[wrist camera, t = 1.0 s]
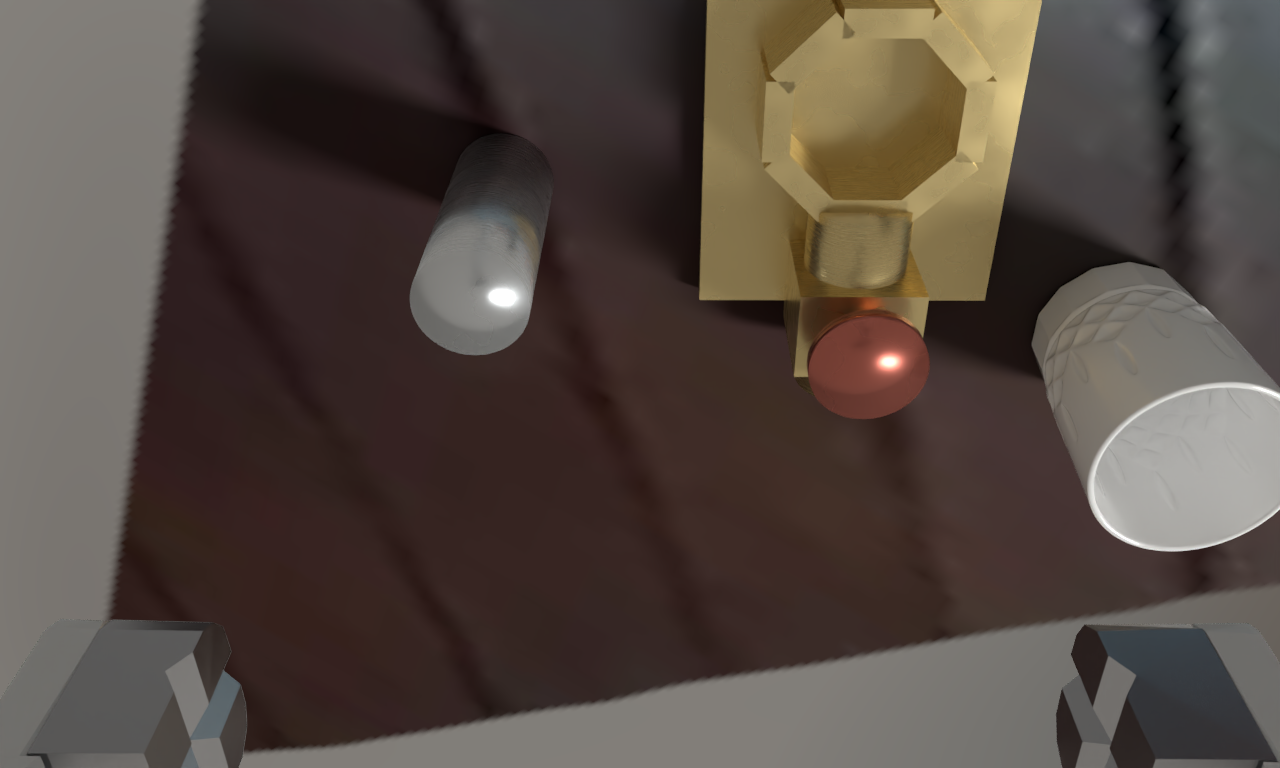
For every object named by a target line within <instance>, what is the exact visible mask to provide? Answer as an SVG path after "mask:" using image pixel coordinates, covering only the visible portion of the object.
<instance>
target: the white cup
mask: <svg viewBox="0 0 1280 768" xmlns="http://www.w3.org/2000/svg"><path fill="white" fill-rule="evenodd" d="M1031 345H1032V348H1033V351H1034V354H1035V357H1036V360H1037V363H1038V366H1039V369H1040V372H1041V375H1042V377H1043V379H1044V382H1045V385H1046V395H1047V397H1048V400H1049V402H1050V405H1051V407H1052V411H1053V415H1054V417H1055V420H1056V422H1057V425H1058V427H1059V430H1060V432H1061V435H1062V437H1063V440H1064V442H1065V445H1066V447H1067V450H1068V452H1069V455H1070V457H1071V460H1072V462H1073V465H1074V467H1075V470H1076V472H1077V475H1078V477H1079V480H1080V482H1081V485H1082V487H1083V490H1084V492H1085V495H1086V497H1087V500H1088V502H1089V505H1090V508H1091V510H1092V512H1093V514H1094V516H1095V517H1096V519H1097V520H1098V522H1099V523H1100V524H1101V525H1102V526H1103V527H1104V528H1105V529H1106V530H1107V531H1108V532H1109V533H1111V534H1112V535H1113V536H1115V537H1116V538H1118V539H1120V540H1122V541H1124V542H1126V543H1128V544H1131V545H1134V546H1137V547H1141V548H1145V549H1150V550H1157V551H1187V550H1194V549H1200V548H1205V547H1209V546H1213V545H1217V544H1220V543H1223V542H1226V541H1229V540H1231V539H1234V538H1236V537H1238V536H1240V535H1242V534H1244V533H1246V532H1248V531H1250V530H1252V529H1254V528H1255V527H1257V526H1259V525H1260V524H1262V523H1263V522H1265V521H1266V520H1267V519H1269V518H1270V517H1271V516H1273V515H1274V514H1275V513H1276V512H1277V511H1279V510H1280V387H1279V386H1278V385H1277V384H1276V383H1275V381H1274V380H1273V379H1272V378H1271V377H1270V376H1269V375H1268V374H1267V373H1266V372H1265V370H1264V369H1263V368H1262V367H1261V366H1260V365H1259V364H1258V363H1257V362H1256V360H1255V359H1254V358H1253V357H1252V356H1251V355H1250V354H1249V353H1248V352H1247V350H1246V349H1245V348H1244V347H1243V346H1242V345H1241V344H1240V343H1239V342H1238V340H1237V339H1236V338H1235V337H1234V336H1233V335H1232V334H1231V333H1230V332H1229V331H1228V330H1227V329H1226V328H1225V327H1224V326H1223V324H1221V323H1220V322H1219V321H1218V320H1217V319H1216V318H1215V317H1214V316H1213V315H1212V314H1211V313H1210V312H1209V311H1208V310H1207V309H1206V308H1205V307H1204V306H1202V305H1200V304H1198V303H1197V302H1196V301H1195V299H1194V298H1193V297H1192V296H1191V295H1190V294H1189V293H1188V292H1187V290H1186V289H1184V288H1183V287H1182V286H1181V285H1180V284H1179V283H1178V282H1177V281H1176V280H1174V279H1173V278H1172V277H1171V276H1170V275H1169V274H1168V273H1167V272H1166V271H1164V270H1163V269H1160V268H1155V267H1151V266H1146V265H1142V264H1137V263H1133V262H1125V263H1120V264H1114V265H1108V266H1103V267H1097V268H1093V269H1091V270H1089V271H1087V272H1085V273H1084V274H1082V275H1080V276H1079V277H1077V278H1075V279H1074V280H1072V281H1070V282H1068V283H1067V284H1065V285H1063V286H1062V287H1060V288H1059V289H1058V291H1057V292H1056V293H1055V294H1054V296H1053V297H1052V298H1051V299H1050V301H1049V302H1048V303H1047V304H1046V306H1045V307H1044V308H1043V309H1042V311H1041V312H1040V313H1039V314H1038V318H1037V322H1036V326H1035V331H1034V335H1033V339H1032V344H1031Z"/></svg>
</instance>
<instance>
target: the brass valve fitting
mask: <svg viewBox="0 0 1280 768" xmlns="http://www.w3.org/2000/svg"><path fill="white" fill-rule="evenodd" d="M1041 2H1042V0H706V28H705V66H704V105H703V143H702V181H701V220H700V258H699V300H784V309H783V316H784V322H785V328H786V334H787V340H788V345H789V351H790V357H791V363H792V368H793V374H794V377H795V379H796V381H797V383H798V384H799V385H800V387H802V388H803V389H804V390H805V391H806V392H808V393H809V394H811V395H813V396H815V397H816V398H817V399H818V401H819V402H820V403H821V404H822V405H823V406H825V407H826V408H827V409H829V410H830V411H832V412H834V413H836V414H839V415H841V416H844V417H848V418H854V419H872V418H878V417H882V416H886V415H888V414H891V413H894V412H896V411H898V410H900V409H901V408H903V407H904V406H906V405H907V404H908V403H910V402H911V401H912V400H913V399H914V398H915V397H916V396H917V395H918V394H919V392H920V391H921V390H922V388H923V386H924V384H925V382H926V380H927V377H928V373H929V366H930V362H929V355H928V351H927V348H926V345H925V343H924V340H923V334H924V328H925V322H926V315H927V309H928V303H929V301H985V297H986V291H987V286H988V281H989V276H990V270H991V265H992V260H993V255H994V249H995V244H996V239H997V234H998V228H999V223H1000V218H1001V213H1002V207H1003V202H1004V197H1005V192H1006V186H1007V181H1008V176H1009V171H1010V165H1011V160H1012V155H1013V150H1014V144H1015V139H1016V134H1017V129H1018V123H1019V118H1020V113H1021V108H1022V102H1023V97H1024V92H1025V87H1026V81H1027V76H1028V71H1029V66H1030V60H1031V55H1032V50H1033V44H1034V39H1035V34H1036V29H1037V23H1038V18H1039V13H1040V8H1041Z"/></svg>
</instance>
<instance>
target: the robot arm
mask: <svg viewBox="0 0 1280 768" xmlns="http://www.w3.org/2000/svg"><path fill="white" fill-rule="evenodd" d="M230 653H231V649H230V646H229V643H228V640H227V637H226V634H225V631H224V628H223V626H221V625H218V624H215V623H211V622H175V621H139V620H111V621H97V620H96V621H95V620H67V619H66V620H64V619H60V620H59V621H57V622H56V623H54V624H53V625H51V626H50V627H48V628H47V629H46V630H45V631H44V632H43V634H42V635H41V637H40V639H39V640H38V641H37V643H36V645H35V646H34V648H33V649H32V651H31V652H30V654H29V656H28V657H27V659H26V660H25V662H24V663H23V665H22V666H21V668H20V669H19V671H18V672H17V674H16V676H15V677H14V679H13V680H12V682H11V683H10V685H9V686H8V688H7V690H6V691H5V693H4V694H3V696H2V697H1V699H0V768H239V765H240V762H241V759H242V757H243V750H244V743H245V737H246V730H247V717H246V703H245V699H244V695H243V691H242V688H241V685H240V684H239V683H238V682H237V681H236V680H234V679H233V678H232V677H231V676H229V675H228V674H227V673H226V672H225V671H223V670H224V667H225V665H226V663H227V660H228V658H229V656H230ZM1071 655H1072V658H1073V661H1074V663H1075V665H1076V668H1077V670H1078V673H1079V675H1078V676H1077V677H1075V678H1074V679H1073V680H1072V681H1070V682H1069V683H1068V684H1067V685H1065V686H1064V687H1063V688H1062V690H1061V695H1060V700H1059V705H1058V709H1057V713H1056V722H1057V745H1058V750H1059V755H1060V760H1061V765H1062V768H1280V663H1279V661H1278V660H1277V658H1276V656H1275V655H1274V653H1273V652H1272V650H1271V649H1270V647H1269V645H1268V644H1267V642H1266V641H1265V639H1264V638H1263V636H1262V634H1261V633H1260V631H1258V630H1257V629H1256V628H1254V627H1253V626H1251V625H1250V624H1248V623H1239V624H1238V623H1237V624H1236V623H1234V624H1233V623H1231V624H1230V623H1228V624H1192V625H1187V624H1121V625H1120V624H1119V625H1118V624H1116V625H1084V626H1083V627H1082V629H1081V630H1080V631H1079V633H1078V634H1077V636H1076V639H1075V642H1074V646H1073V650H1072V653H1071Z"/></svg>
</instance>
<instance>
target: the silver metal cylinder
mask: <svg viewBox="0 0 1280 768" xmlns="http://www.w3.org/2000/svg"><path fill="white" fill-rule="evenodd" d="M553 186H554V179H553V173H552V169H551V166H550V164H549V162H548V160H547V158H546V157H545V156H544V154H543V153H542V152H541V151H540V150H539V149H538V148H537V147H536V146H535V145H534V144H532V143H531V142H529V141H528V140H526V139H524V138H521V137H519V136H515V135H511V134H503V133H498V134H490V135H486V136H483V137H481V138H479V139H477V140H475V141H474V142H472V143H471V144H470V145H468V146H467V147H466V148H465V150H464V151H463V152H462V154H461V155H460V157H459V160H458V162H457V165H456V167H455V170H454V173H453V175H452V178H451V181H450V183H449V186H448V189H447V191H446V194H445V197H444V200H443V202H442V205H441V208H440V210H439V213H438V216H437V218H436V221H435V224H434V227H433V229H432V232H431V235H430V237H429V240H428V243H427V245H426V248H425V251H424V254H423V256H422V259H421V262H420V264H419V267H418V270H417V272H416V275H415V278H414V281H413V283H412V287H411V291H410V306H411V310H412V314H413V316H414V319H415V321H416V322H417V324H418V326H419V327H420V328H421V330H422V331H423V332H424V333H425V334H426V335H427V336H428V337H429V338H430V339H431V340H432V341H434V342H435V343H437V344H438V345H440V346H442V347H444V348H446V349H448V350H451V351H453V352H457V353H461V354H467V355H484V354H490V353H494V352H497V351H499V350H502V349H504V348H506V347H507V346H509V345H511V344H512V343H513V342H514V341H516V339H517V338H518V337H519V336H520V335H521V334H522V332H523V331H524V329H525V327H526V325H527V322H528V319H529V315H530V309H531V304H532V299H533V293H534V288H535V283H536V277H537V272H538V267H539V261H540V256H541V251H542V245H543V240H544V235H545V229H546V224H547V219H548V213H549V208H550V203H551V198H552V192H553Z"/></svg>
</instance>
